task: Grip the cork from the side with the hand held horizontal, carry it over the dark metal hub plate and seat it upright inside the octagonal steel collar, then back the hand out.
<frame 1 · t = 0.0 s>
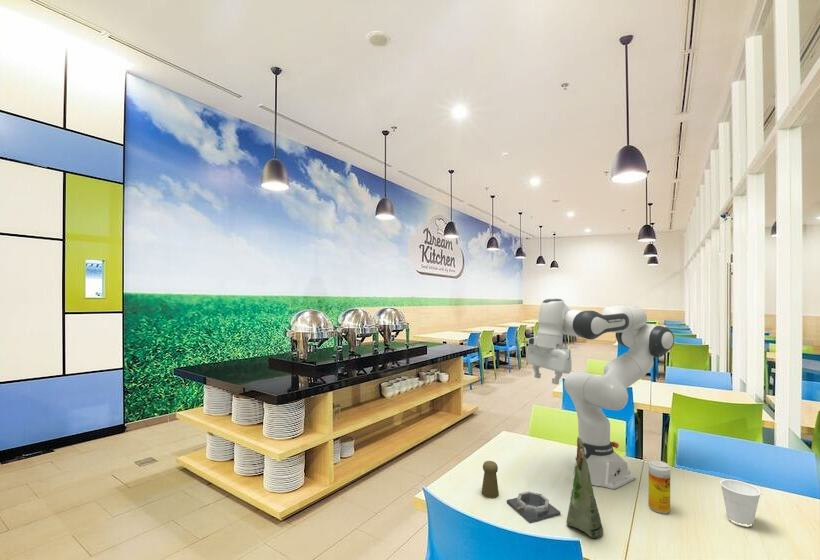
hand: (546, 380, 143), 39 cm above the table, tool pointing down, fingers open, 8 cm apart
cork: (490, 494, 138), on the table
pill bottle: (659, 509, 130), on the table
pouch: (582, 527, 120), on the table
cup: (739, 523, 123), on the table
hub socket: (532, 508, 129), on the table
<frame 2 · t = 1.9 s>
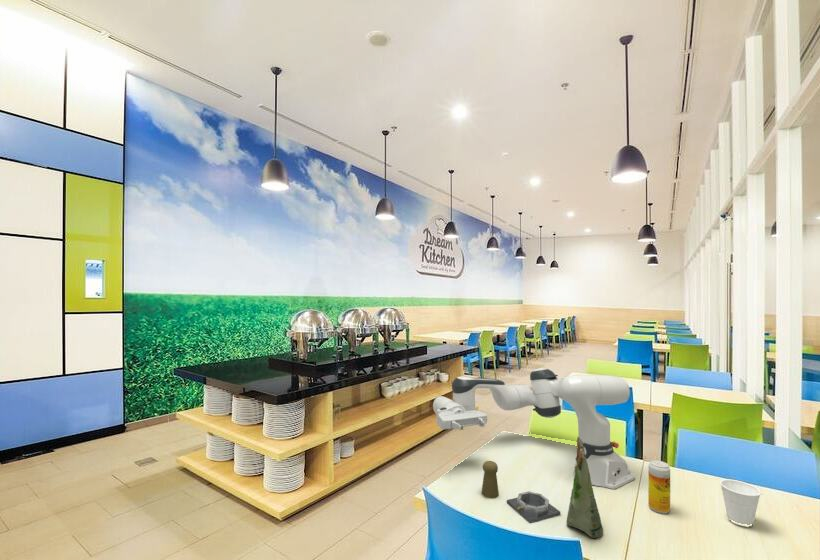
hand: (472, 426, 150), 19 cm above the table, tool horizontal, fingers open, 8 cm apart
nothing on the table moved.
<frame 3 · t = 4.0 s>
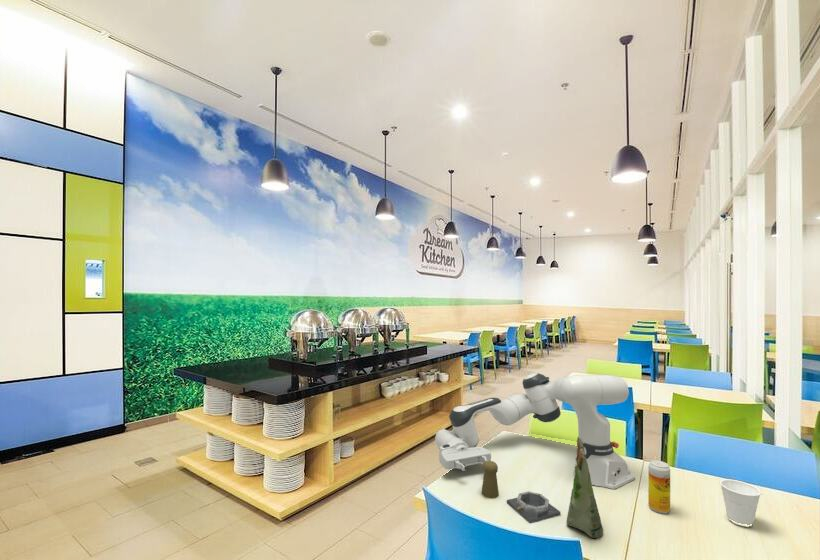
hand: (476, 466, 146), 6 cm above the table, tool horizontal, fingers open, 8 cm apart
nothing on the table moved.
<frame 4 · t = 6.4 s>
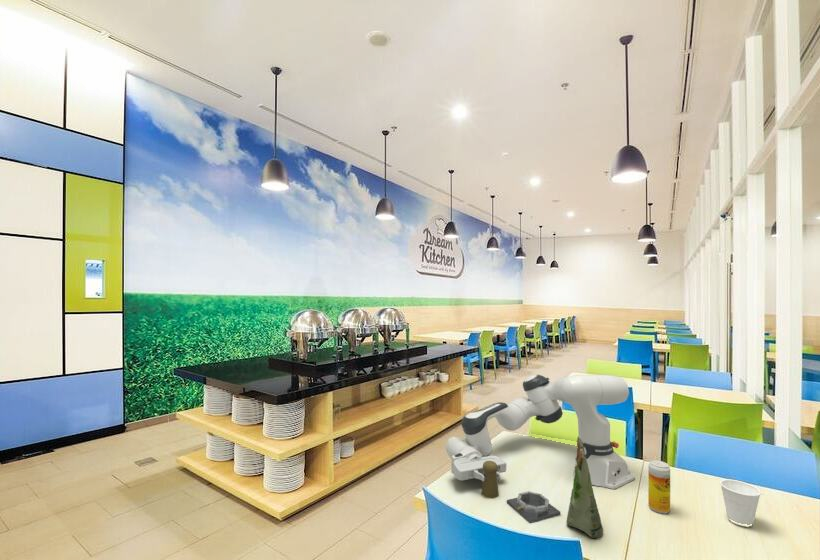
hand: (491, 477, 138), 6 cm above the table, tool horizontal, fingers closed on cork, 4 cm apart
cork: (490, 494, 138), on the table, touching gripper
everything else where it was.
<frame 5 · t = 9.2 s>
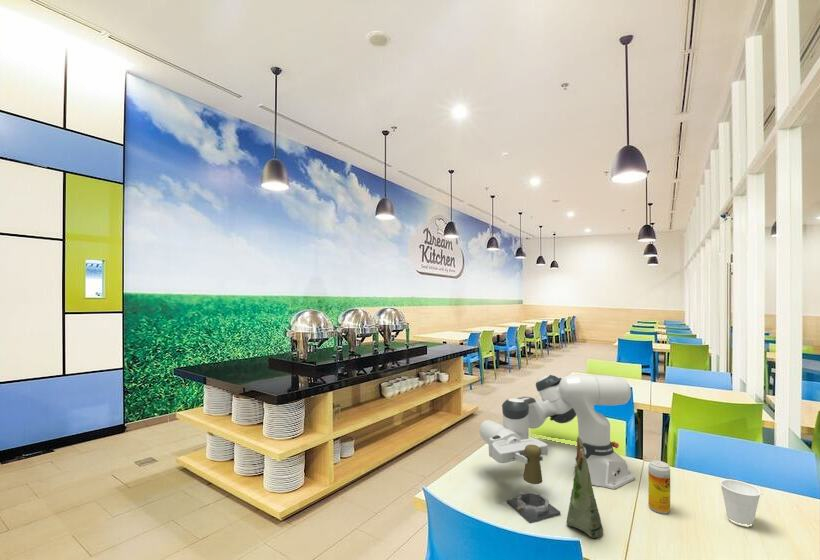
hand: (534, 459, 129), 16 cm above the table, tool horizontal, fingers closed on cork, 4 cm apart
cork: (532, 480, 129), point 9 cm above the table, touching gripper
everything else where it was.
when the fingers open (8 cm above the table, at t = 11.4 s): cork stays where it is, resting on hub socket.
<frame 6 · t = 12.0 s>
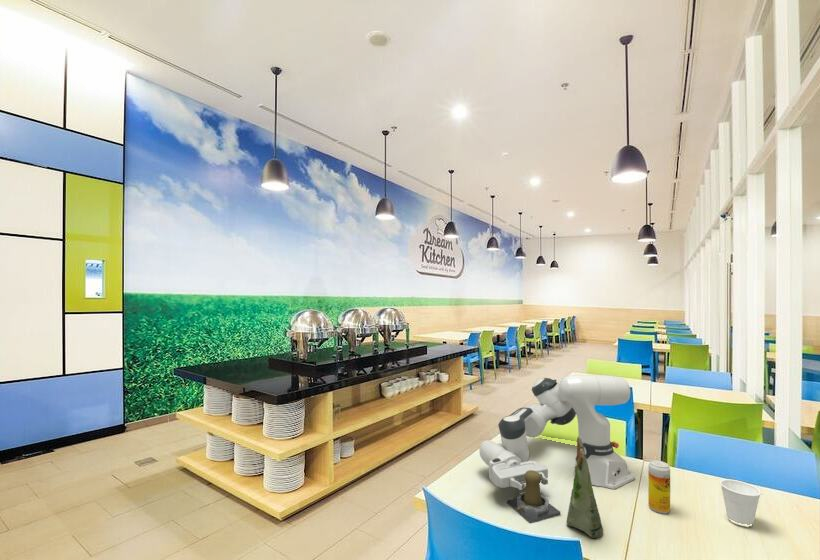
hand: (534, 484, 128), 8 cm above the table, tool horizontal, fingers open, 8 cm apart
cork: (532, 506, 129), point 1 cm above the table, touching hub socket
everything else where it was.
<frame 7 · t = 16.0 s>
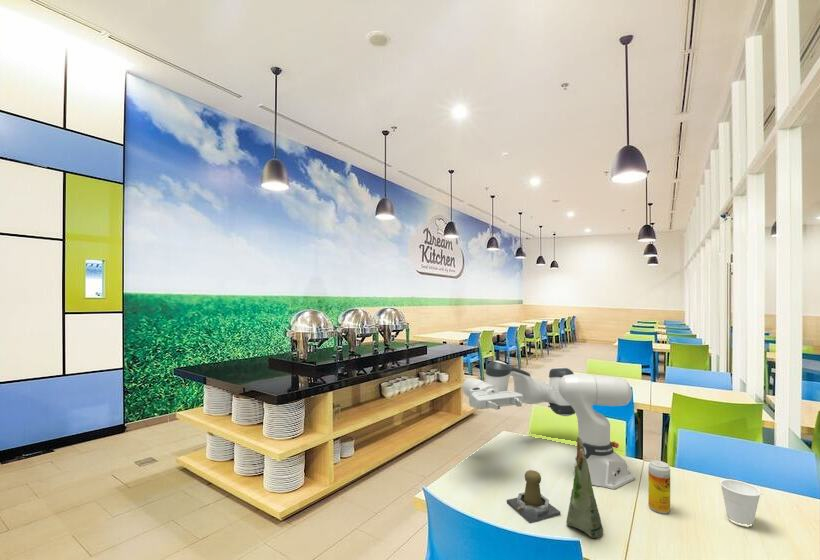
hand: (509, 405, 142), 30 cm above the table, tool horizontal, fingers open, 8 cm apart
nothing on the table moved.
at the end: cork 0.1 cm from the hub socket (horizontally); cork tilted 0°; the gripper is holding nothing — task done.
